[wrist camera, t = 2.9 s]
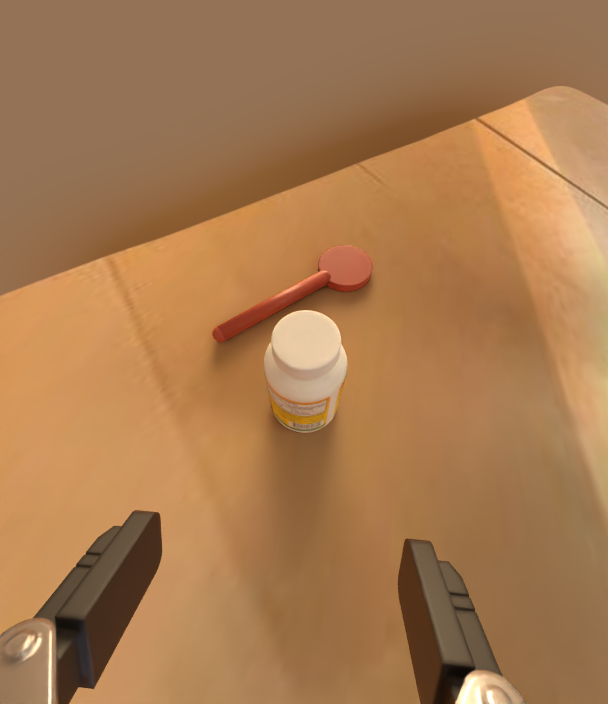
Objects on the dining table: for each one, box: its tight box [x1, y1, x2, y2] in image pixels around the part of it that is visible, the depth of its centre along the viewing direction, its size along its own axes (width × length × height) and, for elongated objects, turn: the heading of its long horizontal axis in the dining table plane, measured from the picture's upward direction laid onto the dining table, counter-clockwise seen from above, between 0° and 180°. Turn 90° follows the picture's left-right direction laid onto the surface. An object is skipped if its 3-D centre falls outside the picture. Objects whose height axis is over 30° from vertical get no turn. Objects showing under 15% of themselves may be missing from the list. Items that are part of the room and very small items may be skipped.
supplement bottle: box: [264, 310, 347, 433], centre depth 24 cm, size 5×5×10 cm
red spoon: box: [213, 245, 372, 342], centre depth 33 cm, size 17×5×1 cm, turn 125°
